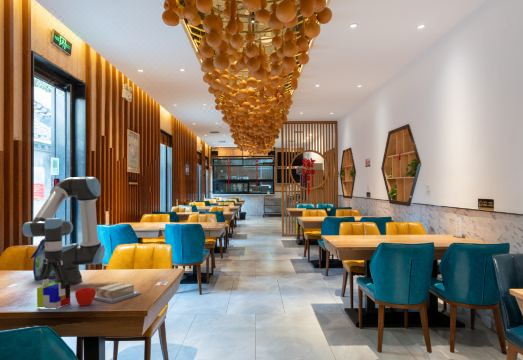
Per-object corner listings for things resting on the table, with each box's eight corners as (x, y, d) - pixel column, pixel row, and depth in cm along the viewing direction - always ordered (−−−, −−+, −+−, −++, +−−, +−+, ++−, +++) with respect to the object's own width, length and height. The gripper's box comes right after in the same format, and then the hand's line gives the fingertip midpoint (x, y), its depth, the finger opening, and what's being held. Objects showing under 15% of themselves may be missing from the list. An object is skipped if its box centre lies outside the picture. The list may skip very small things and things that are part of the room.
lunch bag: (36, 274, 257) (36, 236, 258) (63, 272, 263) (63, 234, 263) (29, 281, 236) (28, 239, 237) (59, 278, 242) (58, 238, 243)
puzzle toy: (55, 309, 177) (55, 288, 177) (37, 309, 179) (37, 287, 179) (70, 303, 186) (70, 283, 187) (52, 302, 188) (52, 282, 189)
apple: (98, 301, 188) (98, 286, 188) (91, 307, 179) (90, 290, 179) (80, 302, 188) (80, 286, 188) (71, 307, 179) (71, 291, 179)
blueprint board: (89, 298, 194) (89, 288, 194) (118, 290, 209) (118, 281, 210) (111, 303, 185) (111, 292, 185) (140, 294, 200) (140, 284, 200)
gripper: (31, 249, 186) (31, 293, 186) (60, 252, 174) (61, 299, 173) (46, 247, 193) (47, 289, 192) (76, 250, 180) (76, 295, 179)
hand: (53, 294), depth 182 cm, fingers open, 13 cm apart
